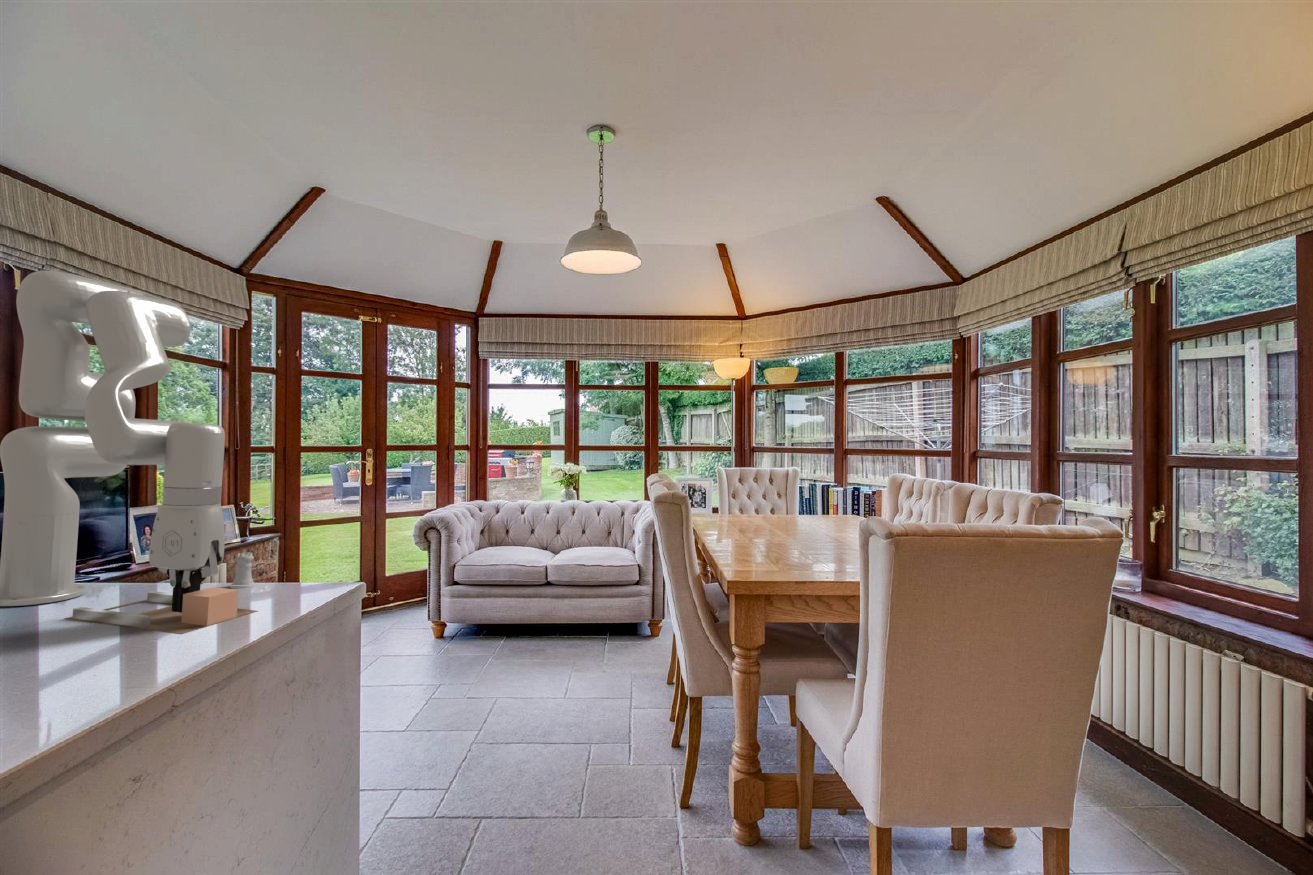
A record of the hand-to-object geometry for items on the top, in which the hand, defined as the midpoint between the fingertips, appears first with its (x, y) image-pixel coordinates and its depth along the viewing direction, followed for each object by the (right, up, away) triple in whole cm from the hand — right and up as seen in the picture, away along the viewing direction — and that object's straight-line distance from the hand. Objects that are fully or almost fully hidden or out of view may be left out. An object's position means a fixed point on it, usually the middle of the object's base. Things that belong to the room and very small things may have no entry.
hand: (185, 609), depth 93 cm
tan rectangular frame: (-4, -3, +1) cm, 5 cm away
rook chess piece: (-6, -3, +20) cm, 21 cm away
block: (+5, -1, -1) cm, 5 cm away
